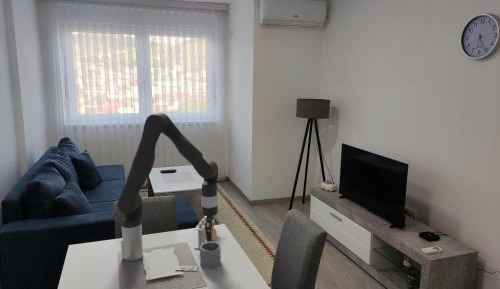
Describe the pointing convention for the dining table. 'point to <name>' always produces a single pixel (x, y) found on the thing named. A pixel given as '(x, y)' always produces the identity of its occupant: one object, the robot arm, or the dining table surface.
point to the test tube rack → (201, 233)
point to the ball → (212, 233)
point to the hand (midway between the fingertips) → (210, 237)
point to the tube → (210, 255)
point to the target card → (189, 268)
